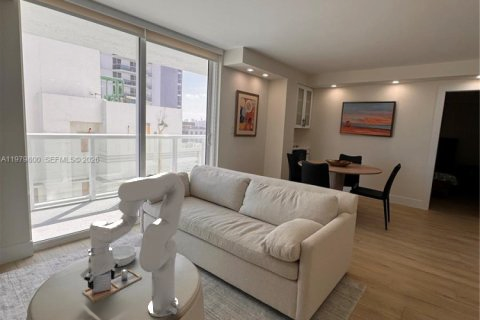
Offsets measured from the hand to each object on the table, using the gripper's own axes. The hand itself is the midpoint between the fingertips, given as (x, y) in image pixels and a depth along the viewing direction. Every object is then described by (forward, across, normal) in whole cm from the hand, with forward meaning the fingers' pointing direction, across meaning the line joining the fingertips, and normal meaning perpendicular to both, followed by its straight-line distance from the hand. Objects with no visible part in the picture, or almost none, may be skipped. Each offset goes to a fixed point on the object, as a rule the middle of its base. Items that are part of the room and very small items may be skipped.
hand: (101, 283), depth 117 cm
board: (+5, +6, 0) cm, 8 cm away
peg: (+4, +11, 0) cm, 12 cm away
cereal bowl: (+6, +20, +18) cm, 27 cm away
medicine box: (+3, 0, +1) cm, 3 cm away
